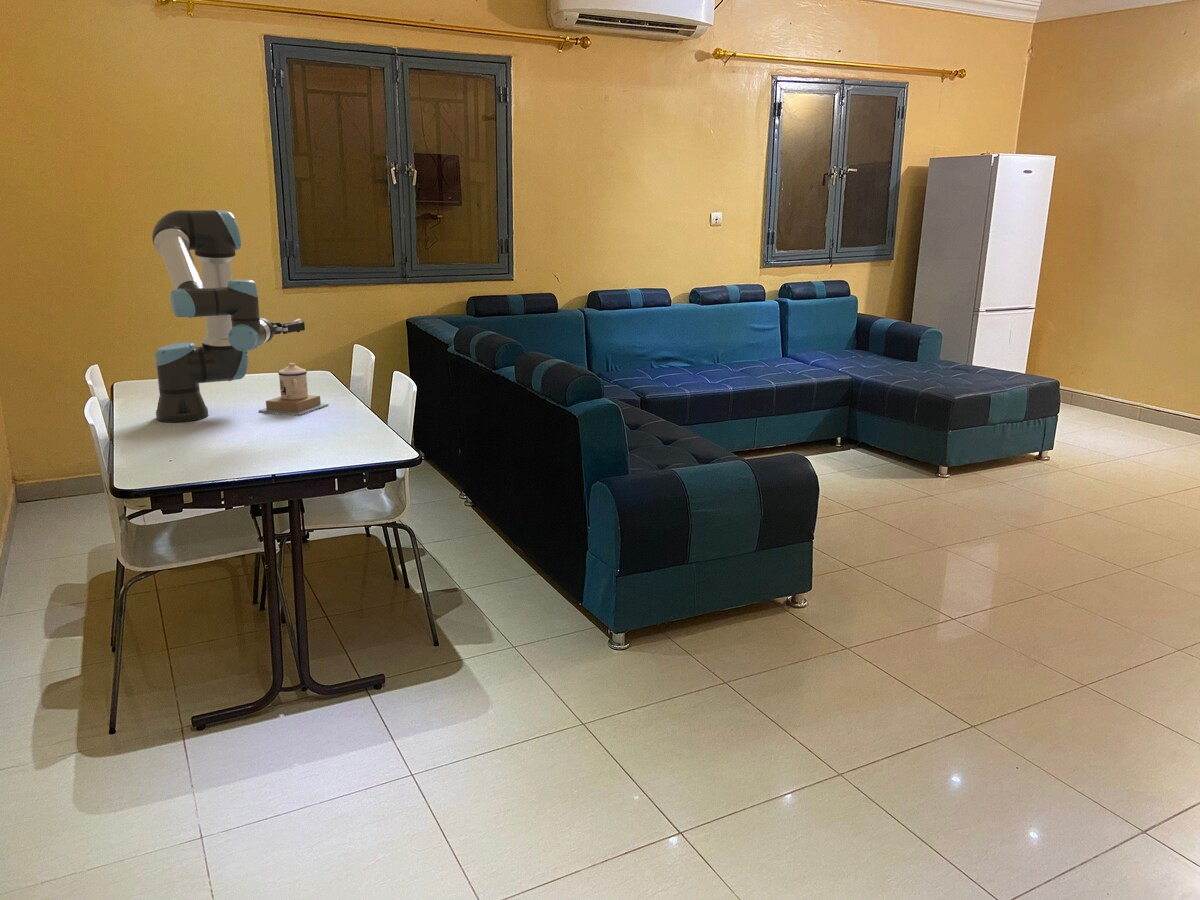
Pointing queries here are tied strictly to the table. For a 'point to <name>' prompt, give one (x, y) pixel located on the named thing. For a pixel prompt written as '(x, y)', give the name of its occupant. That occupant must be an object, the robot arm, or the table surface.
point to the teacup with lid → (293, 382)
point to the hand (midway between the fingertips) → (278, 323)
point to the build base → (293, 405)
